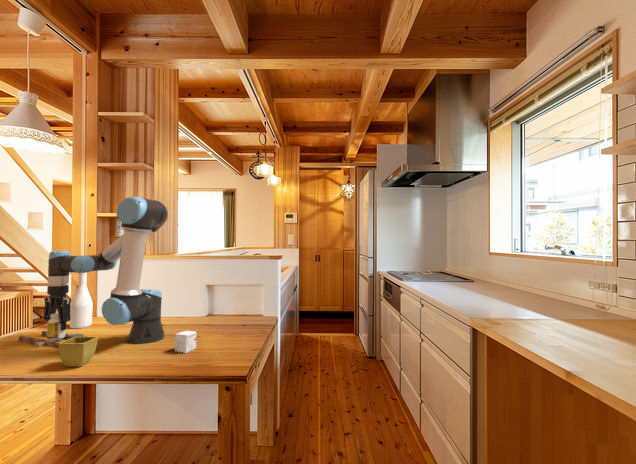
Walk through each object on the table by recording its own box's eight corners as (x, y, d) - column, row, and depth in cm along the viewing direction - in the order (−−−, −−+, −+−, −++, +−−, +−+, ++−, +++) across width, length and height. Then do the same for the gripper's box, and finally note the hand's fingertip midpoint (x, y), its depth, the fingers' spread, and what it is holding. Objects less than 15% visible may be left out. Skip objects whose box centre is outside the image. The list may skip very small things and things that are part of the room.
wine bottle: (83, 329, 164) (85, 270, 165) (64, 328, 164) (67, 270, 165) (96, 324, 174) (98, 269, 175) (78, 324, 174) (81, 268, 175)
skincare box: (186, 353, 131) (186, 335, 131) (174, 351, 133) (174, 333, 133) (196, 349, 136) (196, 331, 137) (185, 347, 138) (185, 330, 139)
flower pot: (73, 360, 122) (74, 336, 122) (97, 359, 122) (98, 336, 123) (56, 369, 113) (57, 343, 113) (82, 369, 114) (83, 343, 114)
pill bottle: (54, 341, 140) (55, 315, 140) (43, 340, 141) (44, 314, 142) (68, 337, 146) (69, 312, 146) (57, 336, 147) (58, 312, 148)
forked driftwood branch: (98, 340, 146) (98, 331, 146) (63, 350, 132) (63, 341, 132) (49, 333, 156) (49, 325, 156) (11, 342, 141) (12, 333, 141)
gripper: (82, 285, 145) (80, 336, 144) (52, 282, 151) (50, 332, 150) (64, 287, 138) (62, 341, 137) (34, 284, 144) (31, 336, 143)
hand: (56, 336), depth 144 cm, fingers closed on pill bottle, 6 cm apart
